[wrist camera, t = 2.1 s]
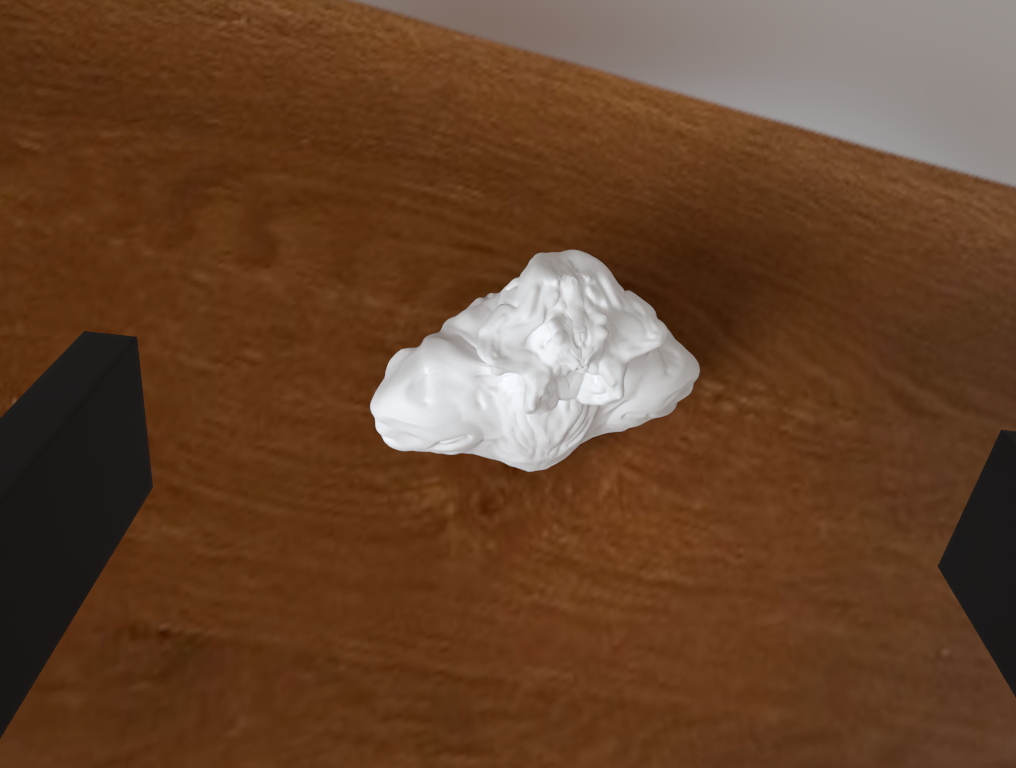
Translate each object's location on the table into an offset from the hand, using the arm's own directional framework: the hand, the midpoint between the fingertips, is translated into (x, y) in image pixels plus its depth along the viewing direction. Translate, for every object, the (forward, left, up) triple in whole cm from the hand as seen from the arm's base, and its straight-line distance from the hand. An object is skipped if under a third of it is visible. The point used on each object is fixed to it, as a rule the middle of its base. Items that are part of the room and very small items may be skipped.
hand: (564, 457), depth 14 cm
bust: (0, +4, -22) cm, 22 cm away
